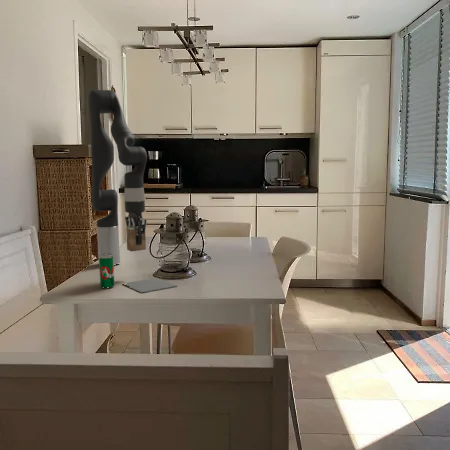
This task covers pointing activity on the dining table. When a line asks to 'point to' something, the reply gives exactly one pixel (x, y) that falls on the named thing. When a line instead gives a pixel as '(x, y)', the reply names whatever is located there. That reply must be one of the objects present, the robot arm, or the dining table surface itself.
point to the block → (134, 240)
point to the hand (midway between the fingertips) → (136, 243)
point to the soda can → (106, 270)
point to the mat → (150, 285)
